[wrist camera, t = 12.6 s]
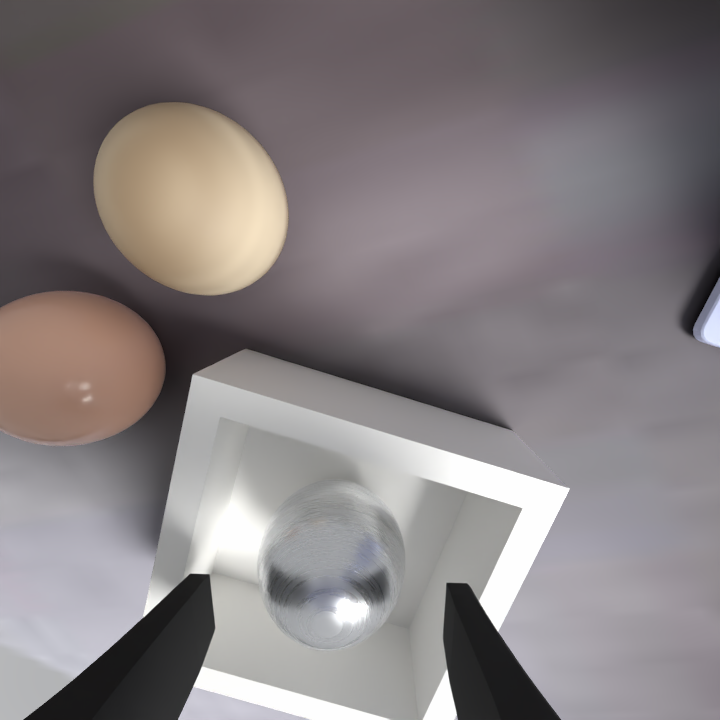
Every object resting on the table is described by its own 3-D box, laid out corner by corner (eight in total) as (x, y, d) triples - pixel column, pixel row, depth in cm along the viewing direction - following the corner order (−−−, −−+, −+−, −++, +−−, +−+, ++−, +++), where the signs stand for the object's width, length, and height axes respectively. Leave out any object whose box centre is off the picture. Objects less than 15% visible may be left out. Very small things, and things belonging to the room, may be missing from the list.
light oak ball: (319, 173, 12) (281, 94, 7) (284, 310, 13) (230, 324, 8) (181, 129, 12) (46, 18, 7) (158, 271, 13) (26, 261, 8)
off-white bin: (513, 430, 14) (569, 488, 10) (420, 640, 16) (436, 754, 12) (245, 348, 13) (192, 374, 9) (192, 574, 16) (132, 669, 12)
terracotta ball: (203, 312, 13) (103, 327, 8) (180, 426, 14) (78, 500, 9) (77, 273, 13) (-101, 264, 8) (63, 392, 14) (-102, 447, 9)
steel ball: (388, 447, 14) (409, 535, 9) (401, 552, 15) (426, 684, 10) (265, 463, 14) (217, 561, 9) (286, 567, 15) (254, 707, 10)
